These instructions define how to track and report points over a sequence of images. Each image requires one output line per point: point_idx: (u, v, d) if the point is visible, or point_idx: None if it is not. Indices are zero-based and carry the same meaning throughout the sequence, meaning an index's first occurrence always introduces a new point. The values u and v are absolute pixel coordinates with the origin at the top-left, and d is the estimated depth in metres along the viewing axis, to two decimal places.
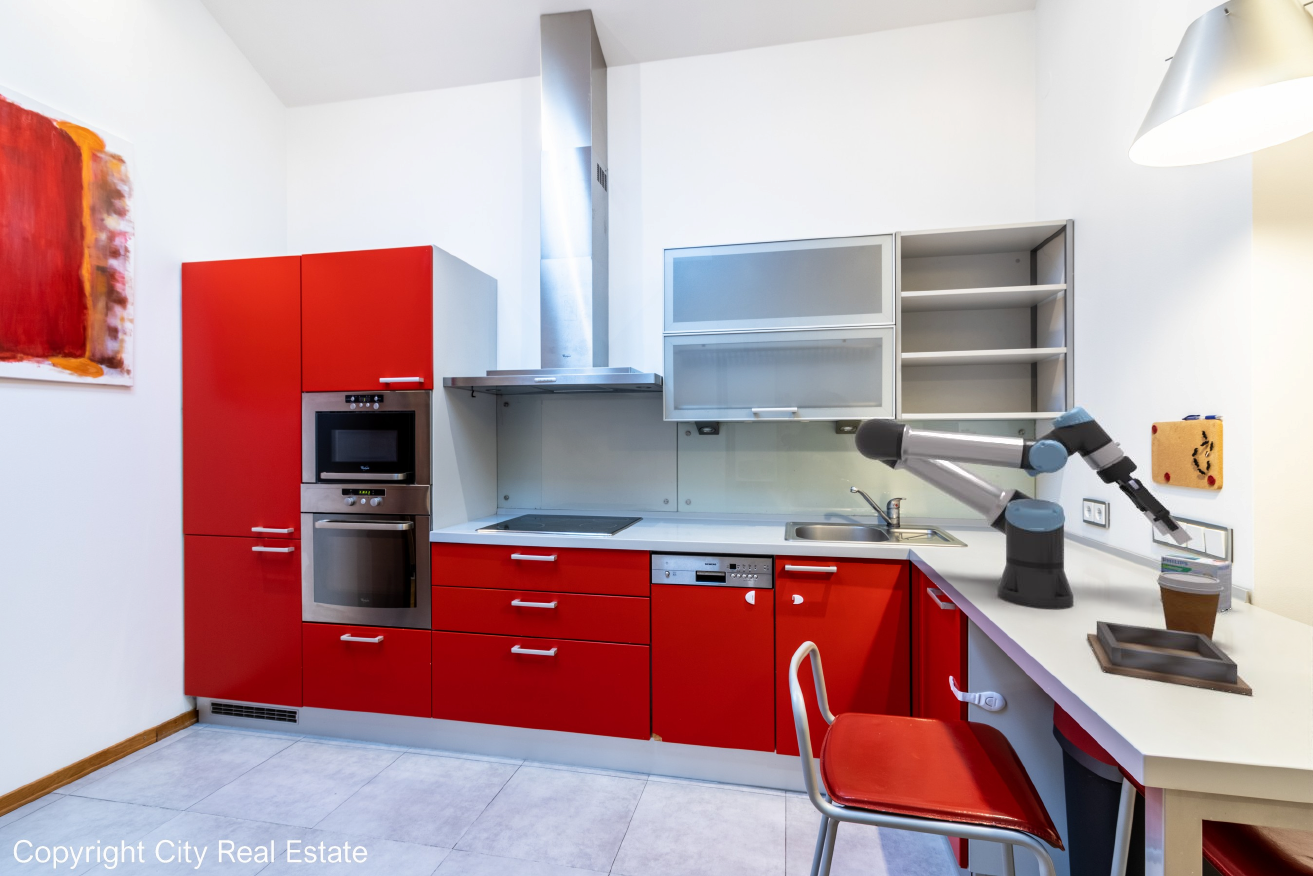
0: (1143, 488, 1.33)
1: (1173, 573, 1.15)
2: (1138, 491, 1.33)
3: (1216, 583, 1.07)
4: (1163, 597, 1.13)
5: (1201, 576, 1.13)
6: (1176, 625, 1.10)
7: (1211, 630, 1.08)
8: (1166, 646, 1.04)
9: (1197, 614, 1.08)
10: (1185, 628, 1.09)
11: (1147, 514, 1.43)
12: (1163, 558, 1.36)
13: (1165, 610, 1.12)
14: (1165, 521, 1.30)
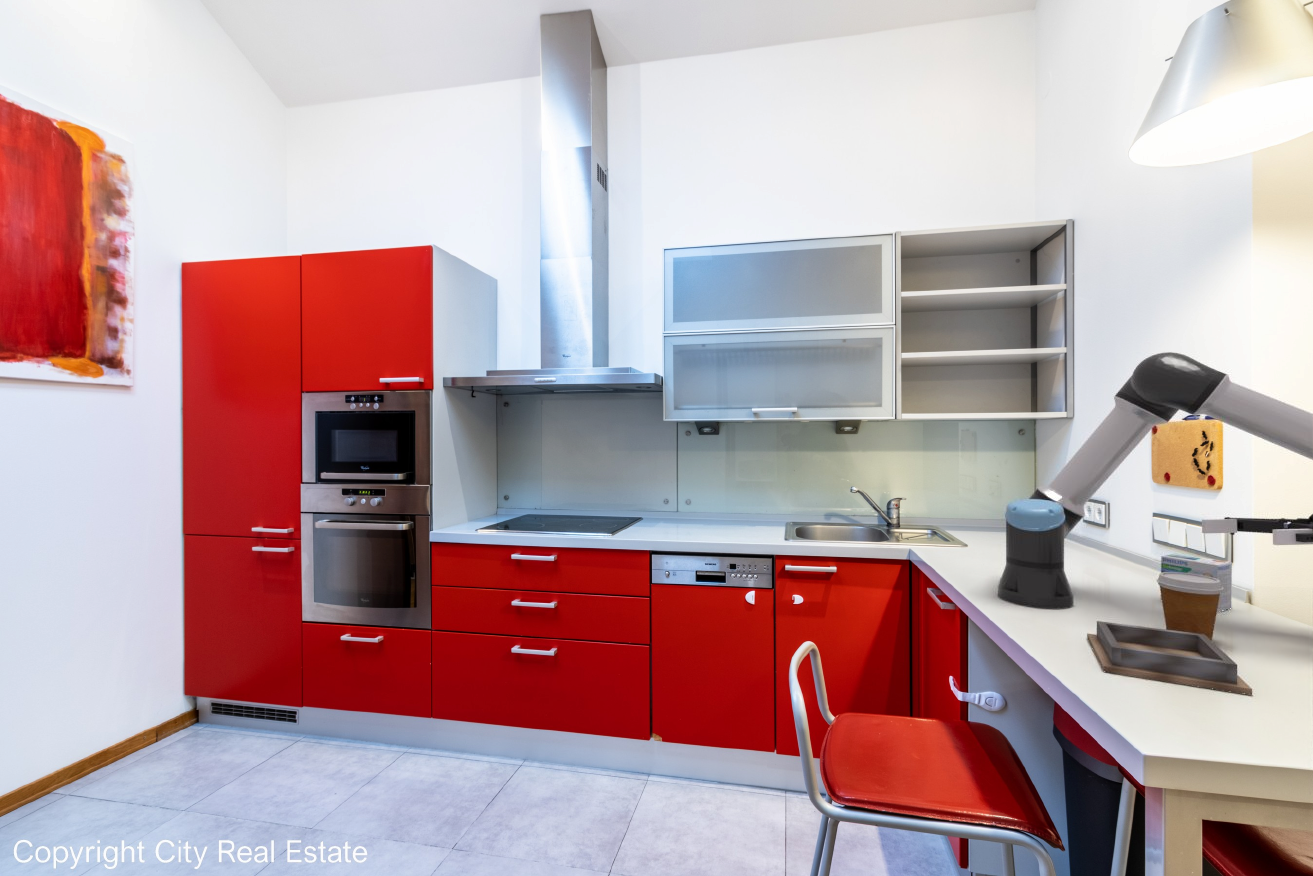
0: None
1: (1173, 573, 1.15)
2: None
3: (1216, 583, 1.07)
4: (1163, 597, 1.13)
5: (1201, 576, 1.13)
6: (1176, 625, 1.10)
7: (1211, 630, 1.08)
8: (1166, 646, 1.04)
9: (1197, 614, 1.08)
10: (1185, 628, 1.09)
11: (1234, 521, 1.18)
12: (1163, 558, 1.36)
13: (1165, 610, 1.12)
14: None
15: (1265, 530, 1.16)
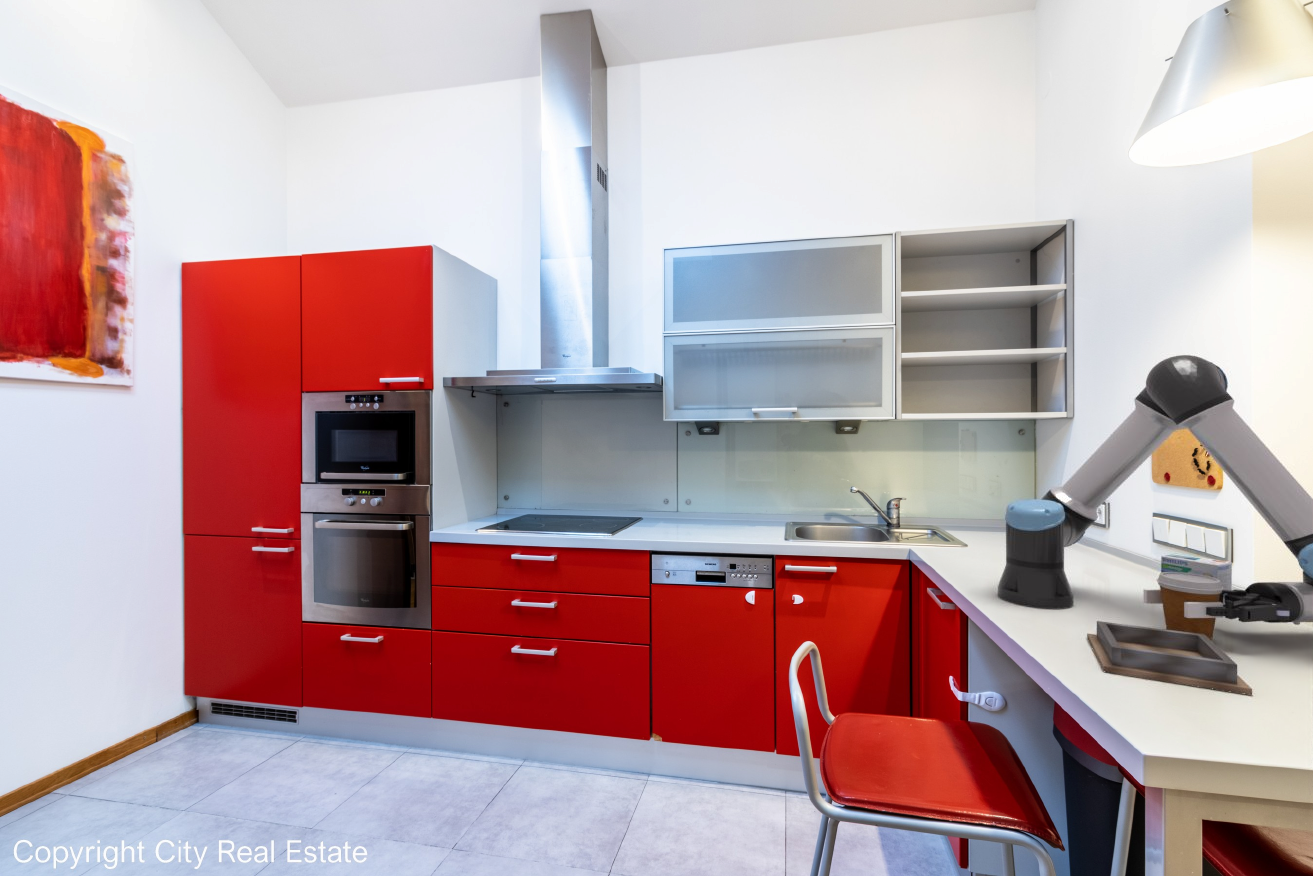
0: (1275, 618, 1.05)
1: (1173, 573, 1.15)
2: (1274, 611, 1.05)
3: (1216, 583, 1.07)
4: (1163, 597, 1.13)
5: (1201, 576, 1.13)
6: (1176, 625, 1.10)
7: (1211, 630, 1.08)
8: (1166, 646, 1.04)
9: None
10: (1185, 628, 1.09)
11: None
12: (1163, 558, 1.36)
13: (1165, 610, 1.12)
14: (1226, 610, 1.05)
15: None
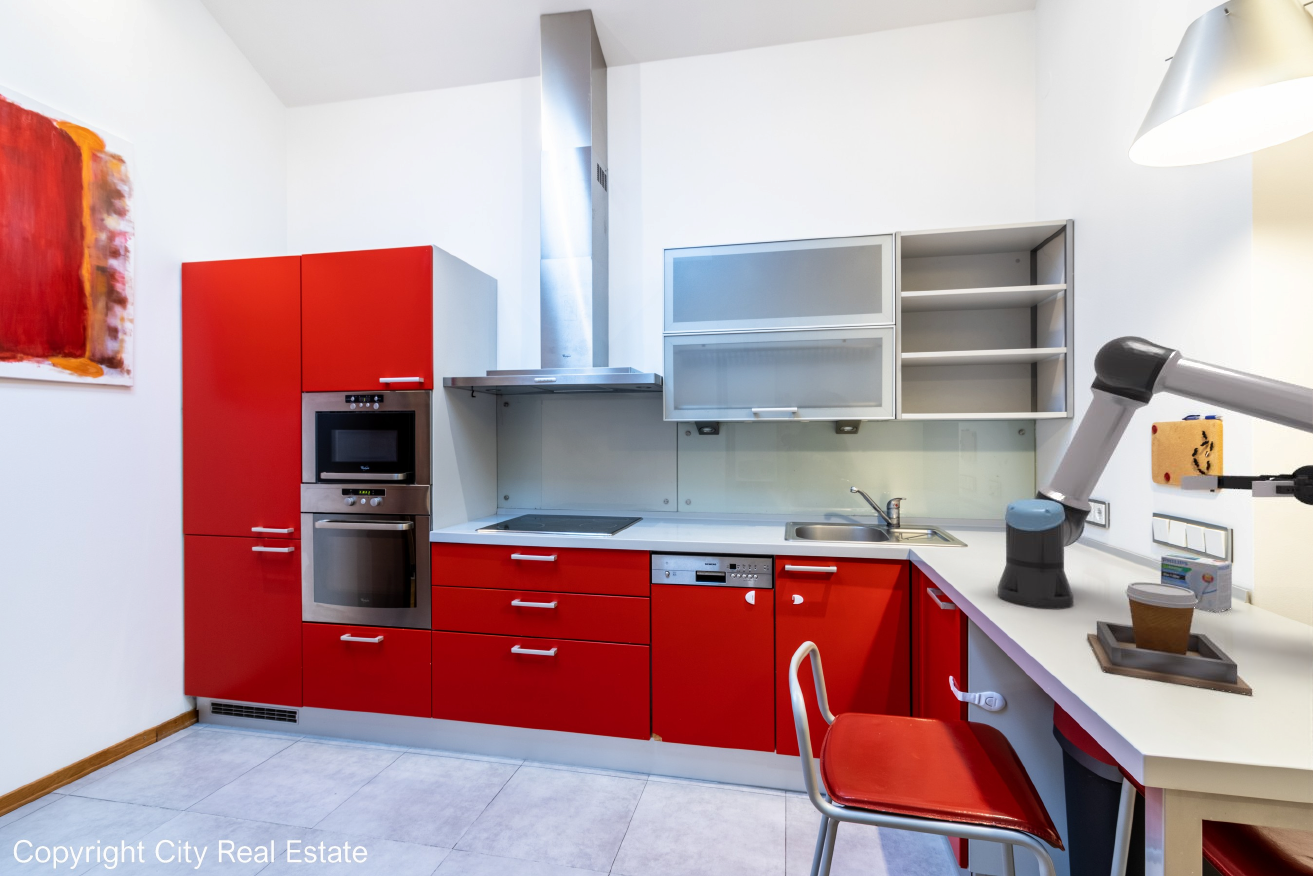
0: None
1: (1144, 583, 1.03)
2: None
3: (1190, 595, 0.96)
4: (1132, 610, 1.01)
5: (1174, 587, 1.01)
6: (1145, 642, 0.99)
7: (1184, 648, 0.97)
8: None
9: (1168, 630, 0.96)
10: (1155, 646, 0.98)
11: (1214, 478, 1.14)
12: (1163, 558, 1.36)
13: (1134, 625, 1.01)
14: (1297, 487, 0.99)
15: (1246, 487, 1.12)
